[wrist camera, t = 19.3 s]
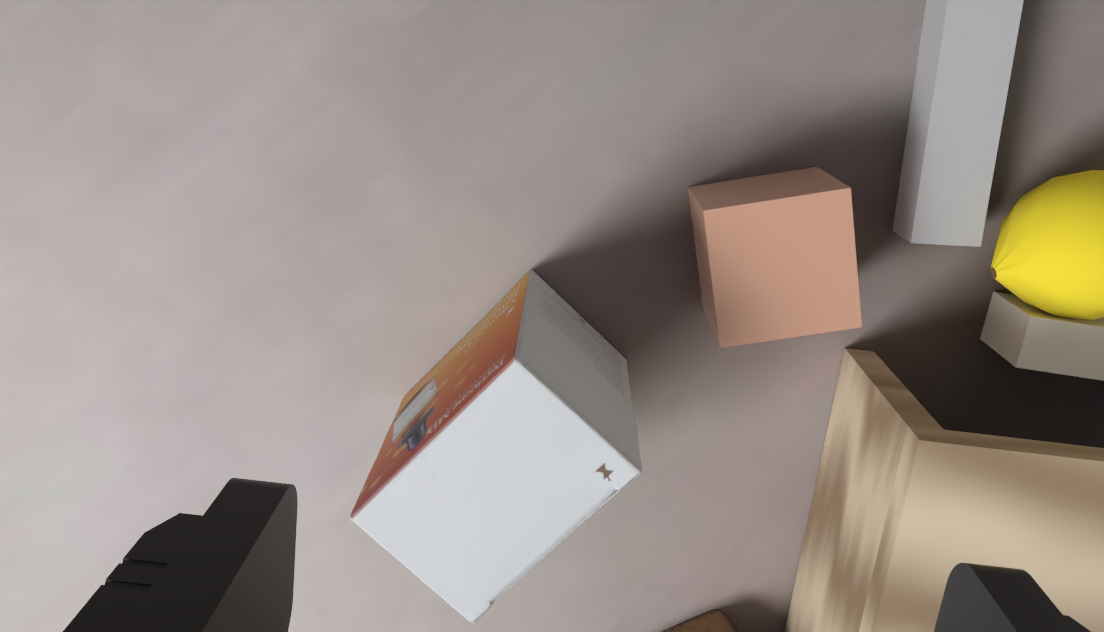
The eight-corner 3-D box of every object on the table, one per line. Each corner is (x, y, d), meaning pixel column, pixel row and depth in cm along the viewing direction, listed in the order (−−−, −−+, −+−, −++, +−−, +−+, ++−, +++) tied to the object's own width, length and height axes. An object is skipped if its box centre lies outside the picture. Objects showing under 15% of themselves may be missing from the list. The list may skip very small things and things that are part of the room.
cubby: (844, 347, 41) (919, 440, 32) (1223, 392, 41) (1401, 496, 32) (780, 647, 45) (831, 803, 36) (1126, 687, 45) (1260, 850, 36)
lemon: (1119, 143, 39) (1224, 157, 34) (1129, 275, 40) (1232, 309, 35) (946, 188, 38) (1027, 210, 33) (963, 320, 40) (1043, 360, 35)
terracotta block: (687, 186, 39) (703, 210, 34) (816, 166, 39) (850, 187, 34) (703, 308, 41) (720, 348, 36) (827, 289, 40) (861, 327, 35)
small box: (532, 265, 40) (519, 350, 30) (630, 359, 41) (649, 471, 31) (397, 398, 42) (342, 520, 32) (494, 485, 43) (470, 630, 33)
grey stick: (946, -159, 36) (973, -171, 33) (1020, -155, 36) (1053, -167, 33) (889, 229, 40) (910, 243, 37) (955, 232, 40) (980, 246, 37)
